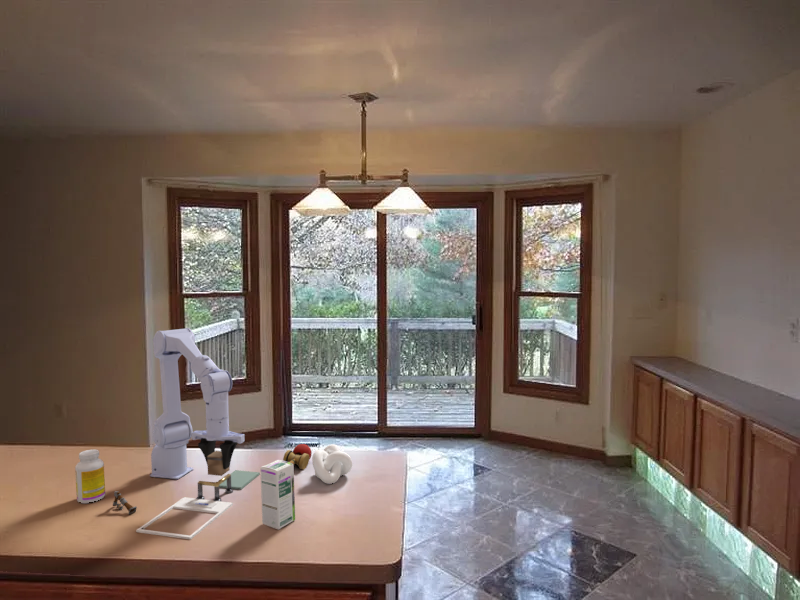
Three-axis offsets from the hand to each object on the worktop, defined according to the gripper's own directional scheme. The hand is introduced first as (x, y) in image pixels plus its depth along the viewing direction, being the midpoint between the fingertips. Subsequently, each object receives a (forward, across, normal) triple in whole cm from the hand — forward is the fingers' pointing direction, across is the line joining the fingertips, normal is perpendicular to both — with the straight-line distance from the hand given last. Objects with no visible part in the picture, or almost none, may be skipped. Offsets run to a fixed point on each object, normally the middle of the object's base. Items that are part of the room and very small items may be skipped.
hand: (218, 467), depth 142 cm
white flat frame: (+10, -2, -11) cm, 15 cm away
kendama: (+9, +11, +23) cm, 27 cm away
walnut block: (+1, 0, 0) cm, 1 cm away
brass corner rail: (+9, -2, +2) cm, 9 cm away
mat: (+9, -2, +12) cm, 15 cm away
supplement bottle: (+9, -34, -7) cm, 36 cm away
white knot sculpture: (+9, +25, +20) cm, 33 cm away
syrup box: (+9, +21, -8) cm, 24 cm away
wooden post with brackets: (+9, -20, -11) cm, 25 cm away
